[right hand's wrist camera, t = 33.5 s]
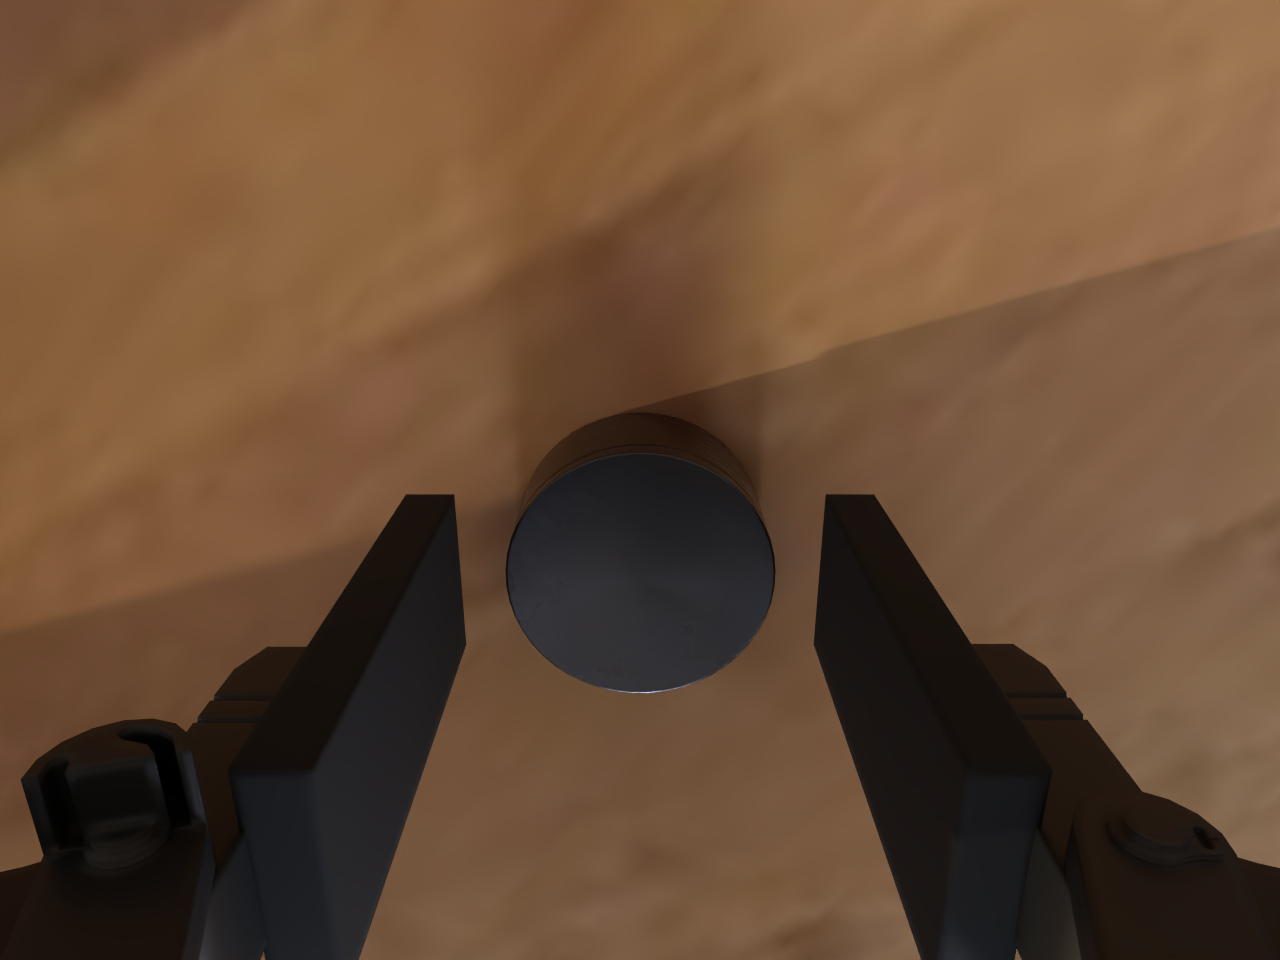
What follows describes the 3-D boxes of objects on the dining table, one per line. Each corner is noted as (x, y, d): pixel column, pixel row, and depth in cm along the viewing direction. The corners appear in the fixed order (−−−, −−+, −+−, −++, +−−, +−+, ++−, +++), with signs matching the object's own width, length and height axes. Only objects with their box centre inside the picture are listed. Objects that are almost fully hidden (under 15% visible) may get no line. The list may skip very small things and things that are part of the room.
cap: (493, 591, 17) (474, 652, 15) (562, 379, 15) (550, 414, 13) (709, 655, 17) (718, 723, 15) (795, 456, 16) (818, 502, 14)
